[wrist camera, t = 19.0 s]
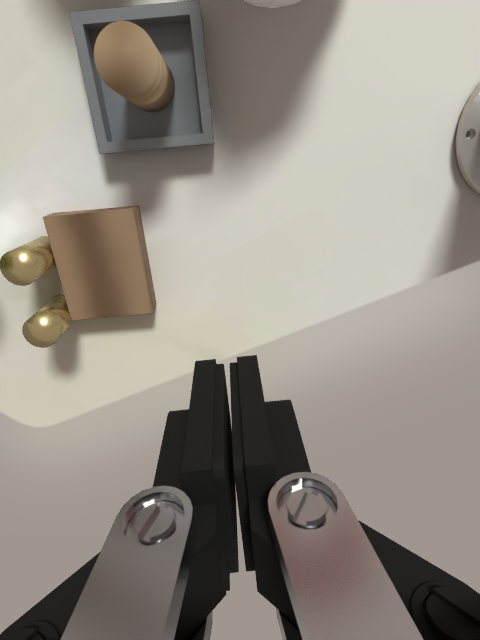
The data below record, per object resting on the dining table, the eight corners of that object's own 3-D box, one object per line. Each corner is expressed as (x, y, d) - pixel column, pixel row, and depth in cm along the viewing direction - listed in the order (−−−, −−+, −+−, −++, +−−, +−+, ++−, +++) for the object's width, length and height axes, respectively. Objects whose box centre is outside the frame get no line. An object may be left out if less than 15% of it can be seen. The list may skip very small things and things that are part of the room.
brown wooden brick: (139, 205, 37) (133, 209, 34) (156, 302, 41) (152, 313, 38) (56, 212, 37) (42, 217, 34) (81, 309, 41) (71, 320, 38)
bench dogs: (59, 234, 37) (30, 249, 31) (82, 319, 41) (61, 345, 35) (28, 237, 37) (-6, 252, 31) (54, 322, 41) (28, 348, 35)
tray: (200, 11, 30) (199, -1, 28) (214, 143, 34) (213, 142, 32) (80, 22, 30) (69, 11, 28) (107, 153, 34) (99, 153, 32)
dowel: (176, 60, 31) (158, 26, 24) (173, 115, 33) (156, 99, 25) (126, 53, 31) (93, 15, 23) (126, 108, 32) (94, 90, 25)
